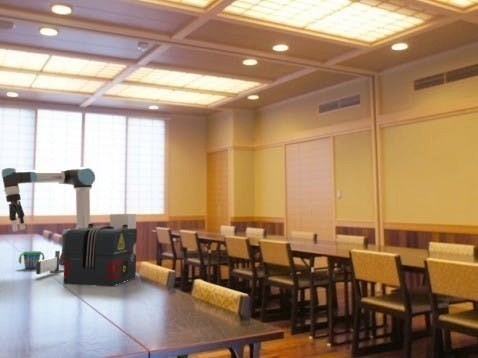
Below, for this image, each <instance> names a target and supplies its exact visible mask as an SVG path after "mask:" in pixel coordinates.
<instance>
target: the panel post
mask: <svg viewBox="0 0 478 358" xmlns="http://www.w3.org/2000/svg"><path fill="white" fill-rule="evenodd" d="M54 252H55V253H54V257H57V269H55V270H52V271H49V273H50V274H60V273H64V269H60V264H59V259H60V256H61V254H60V250H55V251H54Z"/></svg>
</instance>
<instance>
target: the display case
mask: <svg viewBox="0 0 478 358" xmlns="http://www.w3.org/2000/svg"><path fill="white" fill-rule="evenodd" d="M109 216H110V217H109V226H112V227H114V228H123V227H122V226H123V225H128V228H129V229H130V228H136V229H137V214H134V213H110V215H109ZM133 254H135V255H136V243H135V244H134V245H133Z"/></svg>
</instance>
